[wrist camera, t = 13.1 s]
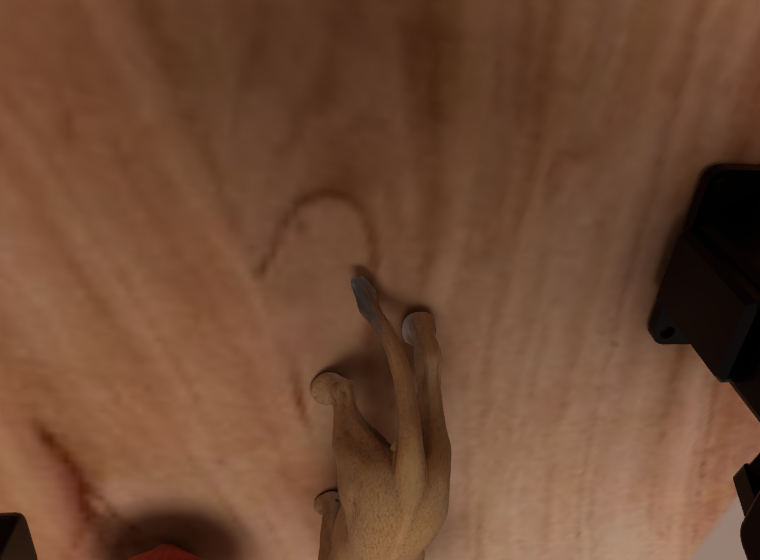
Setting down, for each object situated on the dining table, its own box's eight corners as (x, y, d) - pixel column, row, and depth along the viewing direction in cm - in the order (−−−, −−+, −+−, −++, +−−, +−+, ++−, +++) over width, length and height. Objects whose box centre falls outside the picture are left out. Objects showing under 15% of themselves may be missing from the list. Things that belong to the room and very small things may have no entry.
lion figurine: (445, 546, 30) (497, 786, 23) (321, 564, 30) (333, 813, 23) (434, 255, 22) (511, 483, 15) (263, 276, 22) (253, 519, 15)
